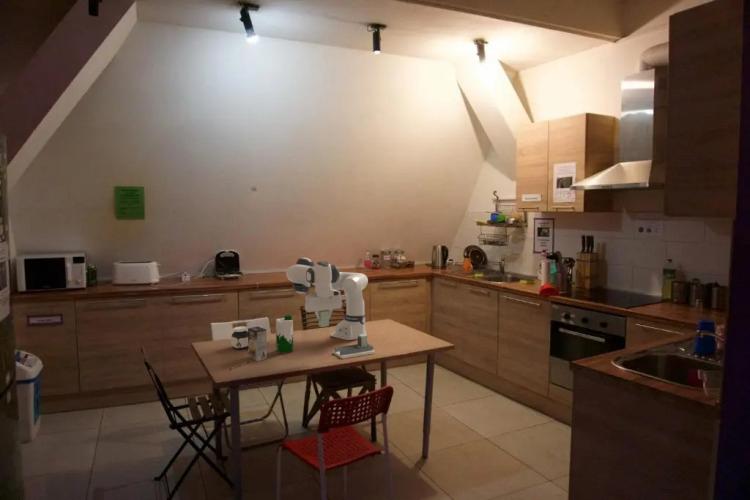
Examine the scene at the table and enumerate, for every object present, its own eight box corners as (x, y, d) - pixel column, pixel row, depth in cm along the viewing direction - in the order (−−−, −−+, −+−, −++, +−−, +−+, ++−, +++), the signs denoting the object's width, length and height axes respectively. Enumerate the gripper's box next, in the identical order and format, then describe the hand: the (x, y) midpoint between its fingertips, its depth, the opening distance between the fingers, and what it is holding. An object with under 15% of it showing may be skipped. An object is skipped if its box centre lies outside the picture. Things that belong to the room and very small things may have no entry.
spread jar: (229, 348, 288) (228, 328, 287) (241, 343, 298) (240, 324, 297) (247, 351, 284) (247, 330, 283) (258, 345, 294) (258, 326, 293)
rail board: (342, 358, 271) (342, 341, 270) (332, 352, 281) (332, 336, 280) (374, 353, 281) (374, 336, 280) (364, 347, 291) (364, 331, 290)
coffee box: (247, 357, 272) (247, 328, 271) (258, 354, 277) (257, 326, 275) (256, 361, 266) (256, 331, 264) (267, 358, 270) (266, 329, 269)
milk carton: (294, 352, 282) (294, 317, 280) (278, 354, 278) (277, 318, 276) (290, 348, 290) (290, 313, 288) (275, 349, 286) (274, 315, 284)
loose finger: (329, 326, 270) (328, 311, 269) (321, 327, 268) (321, 312, 267) (325, 324, 273) (325, 309, 272) (318, 325, 271) (318, 310, 270)
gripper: (307, 295, 261) (307, 321, 262) (343, 291, 271) (343, 317, 272) (302, 293, 266) (303, 319, 267) (338, 290, 276) (338, 314, 277)
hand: (323, 318), depth 270 cm, fingers closed on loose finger, 4 cm apart
